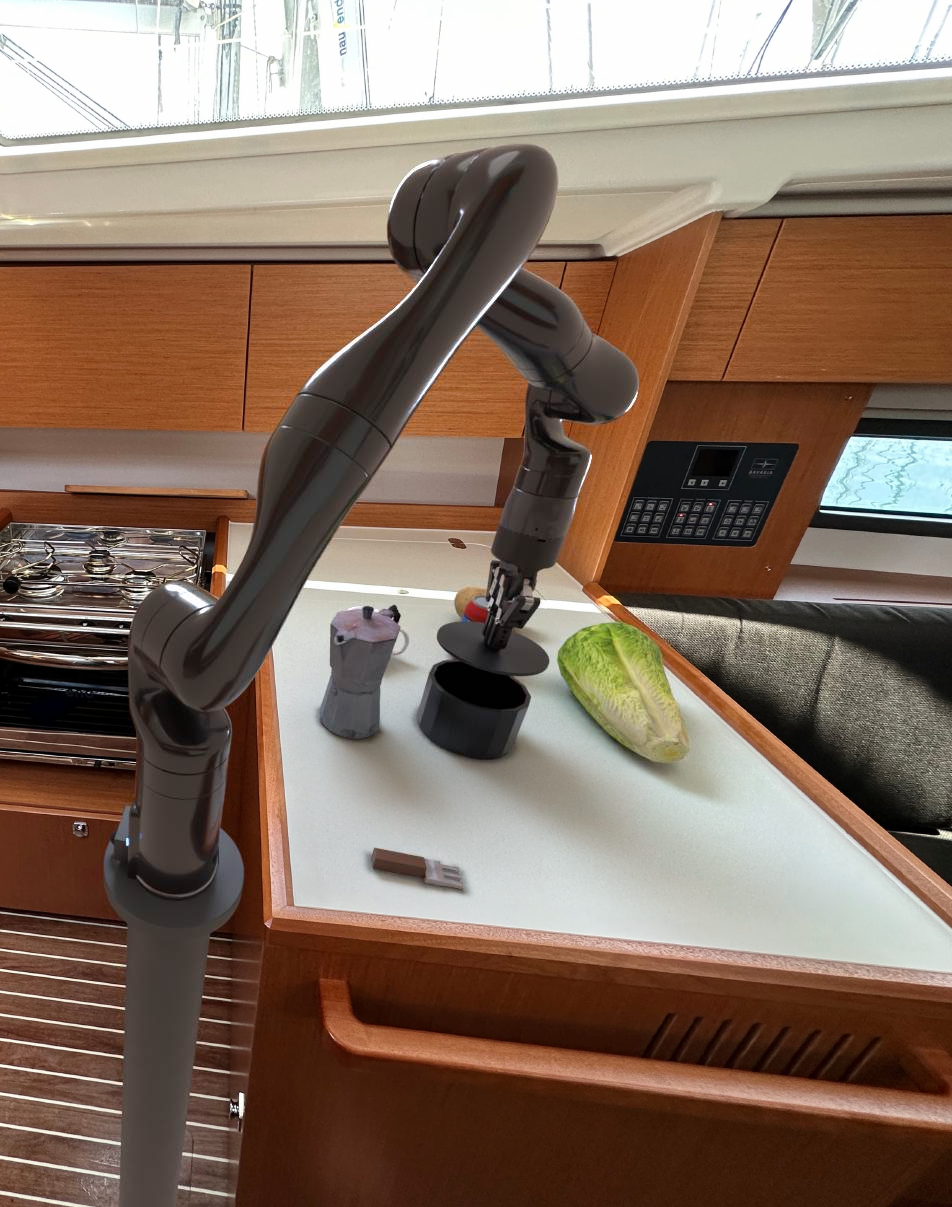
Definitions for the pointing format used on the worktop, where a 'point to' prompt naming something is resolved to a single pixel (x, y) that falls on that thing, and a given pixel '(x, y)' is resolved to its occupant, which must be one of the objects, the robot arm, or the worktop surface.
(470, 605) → the beverage can
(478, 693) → the pot
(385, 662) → the moka pot
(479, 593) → the potato
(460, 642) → the pot lid
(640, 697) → the lettuce
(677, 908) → the worktop surface
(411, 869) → the fork
